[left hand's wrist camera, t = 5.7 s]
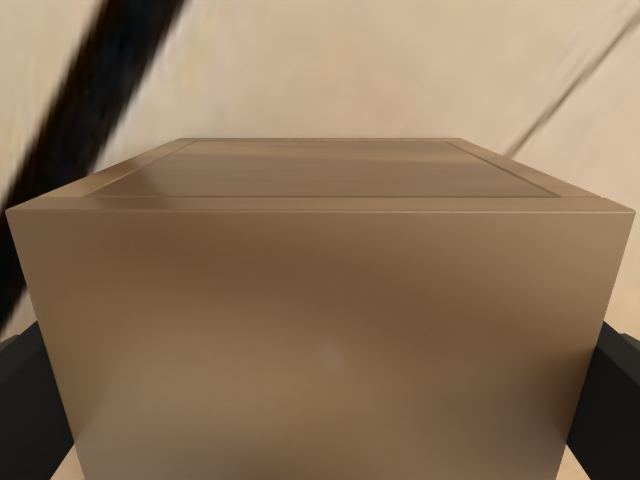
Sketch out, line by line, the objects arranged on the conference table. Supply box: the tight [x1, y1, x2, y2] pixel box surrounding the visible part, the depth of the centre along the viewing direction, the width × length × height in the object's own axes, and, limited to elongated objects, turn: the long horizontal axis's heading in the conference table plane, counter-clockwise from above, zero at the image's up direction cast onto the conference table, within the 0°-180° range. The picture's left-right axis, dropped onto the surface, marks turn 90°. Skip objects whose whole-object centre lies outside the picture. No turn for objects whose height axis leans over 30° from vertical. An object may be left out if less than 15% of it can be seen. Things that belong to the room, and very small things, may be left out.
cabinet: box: [5, 138, 636, 480], centre depth 15 cm, size 21×11×10 cm, turn 0°
